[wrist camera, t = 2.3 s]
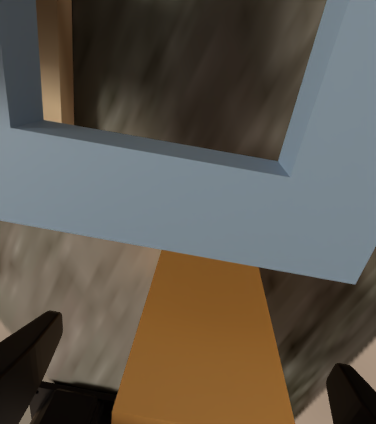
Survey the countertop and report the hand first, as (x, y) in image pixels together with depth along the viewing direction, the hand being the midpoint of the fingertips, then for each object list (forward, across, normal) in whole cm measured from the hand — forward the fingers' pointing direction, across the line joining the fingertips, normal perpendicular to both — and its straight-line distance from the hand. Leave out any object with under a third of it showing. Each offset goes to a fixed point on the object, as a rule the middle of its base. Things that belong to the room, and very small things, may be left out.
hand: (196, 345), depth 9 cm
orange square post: (+5, 0, 0) cm, 5 cm away
